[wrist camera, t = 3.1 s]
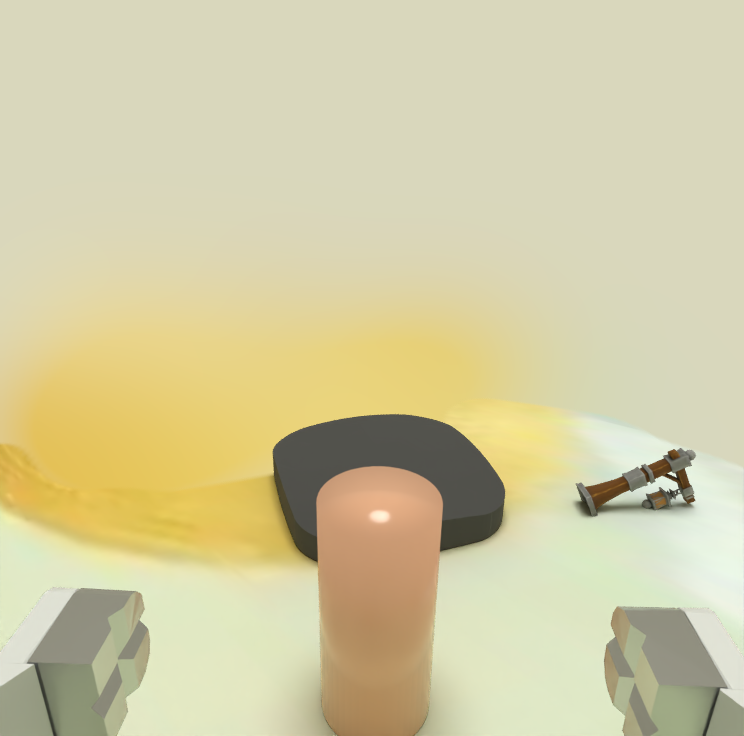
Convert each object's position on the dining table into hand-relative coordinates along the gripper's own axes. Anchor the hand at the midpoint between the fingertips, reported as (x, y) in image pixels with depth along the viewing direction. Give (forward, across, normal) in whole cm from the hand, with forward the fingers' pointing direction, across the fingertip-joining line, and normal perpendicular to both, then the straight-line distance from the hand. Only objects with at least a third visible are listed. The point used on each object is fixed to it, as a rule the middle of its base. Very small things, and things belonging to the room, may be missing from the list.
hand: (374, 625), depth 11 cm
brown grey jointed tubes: (+29, -17, +17) cm, 38 cm away
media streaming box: (+29, 0, +17) cm, 34 cm away
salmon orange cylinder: (+12, 0, +17) cm, 21 cm away
